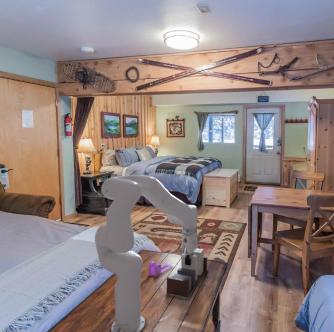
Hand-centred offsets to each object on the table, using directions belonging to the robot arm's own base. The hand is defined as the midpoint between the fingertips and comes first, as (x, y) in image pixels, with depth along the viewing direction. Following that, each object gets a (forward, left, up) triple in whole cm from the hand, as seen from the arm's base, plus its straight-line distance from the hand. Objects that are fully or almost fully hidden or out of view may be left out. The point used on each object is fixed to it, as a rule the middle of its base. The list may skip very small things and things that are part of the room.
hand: (189, 263), depth 140 cm
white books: (+8, 0, -9) cm, 13 cm away
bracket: (+5, +19, -11) cm, 22 cm away
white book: (0, 0, -8) cm, 8 cm away
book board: (-1, 0, -11) cm, 11 cm away
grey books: (-8, 0, -9) cm, 12 cm away
